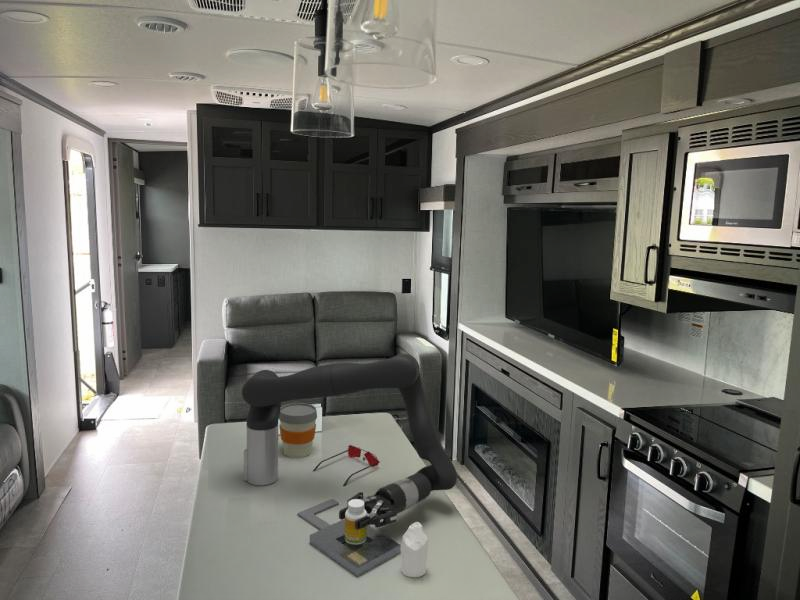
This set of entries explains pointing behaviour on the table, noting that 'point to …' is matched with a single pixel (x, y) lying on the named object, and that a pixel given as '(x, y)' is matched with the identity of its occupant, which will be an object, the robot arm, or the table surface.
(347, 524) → the supplement bottle
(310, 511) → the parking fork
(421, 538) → the white plastic bottle
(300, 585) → the table surface
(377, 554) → the socket block
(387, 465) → the table surface
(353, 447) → the glasses
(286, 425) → the reusable coffee cup
